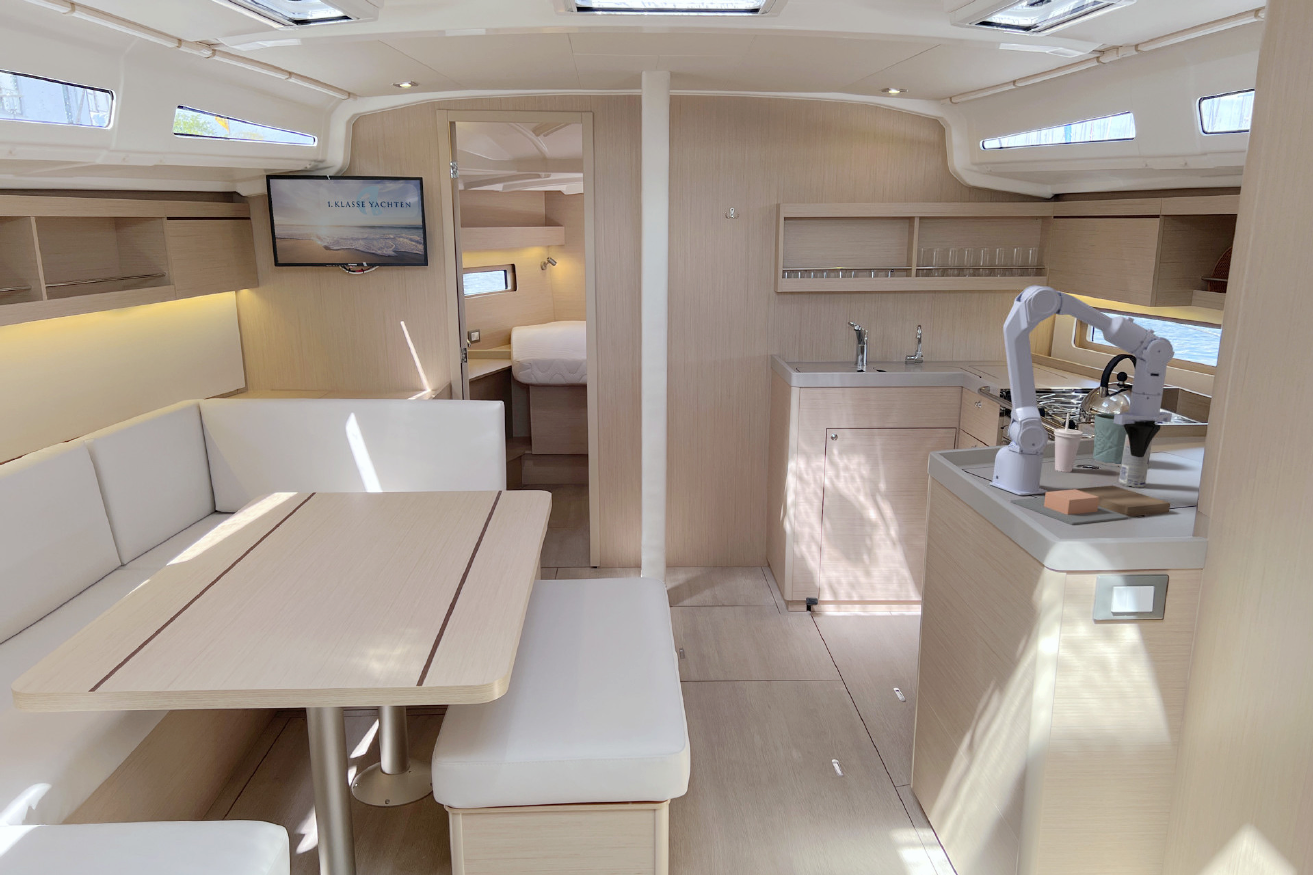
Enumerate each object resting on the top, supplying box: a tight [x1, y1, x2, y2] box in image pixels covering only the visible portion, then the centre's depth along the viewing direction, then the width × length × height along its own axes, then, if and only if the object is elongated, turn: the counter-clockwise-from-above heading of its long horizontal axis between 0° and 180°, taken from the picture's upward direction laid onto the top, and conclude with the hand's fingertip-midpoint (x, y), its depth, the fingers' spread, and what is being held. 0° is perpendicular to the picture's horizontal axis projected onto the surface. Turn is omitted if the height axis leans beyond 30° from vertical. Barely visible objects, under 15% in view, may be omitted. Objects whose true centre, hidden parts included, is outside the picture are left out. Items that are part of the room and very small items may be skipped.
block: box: [1044, 488, 1099, 515], centre depth 179 cm, size 6×8×3 cm
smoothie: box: [1053, 412, 1084, 473], centre depth 213 cm, size 6×6×14 cm
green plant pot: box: [1092, 412, 1127, 464], centre depth 223 cm, size 10×10×12 cm
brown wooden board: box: [1070, 484, 1171, 518], centre depth 185 cm, size 14×12×2 cm
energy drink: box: [1118, 434, 1153, 488], centre depth 201 cm, size 5×5×12 cm
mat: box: [1010, 496, 1130, 526], centre depth 180 cm, size 16×15×1 cm
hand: (1137, 456), depth 188 cm, fingers closed
